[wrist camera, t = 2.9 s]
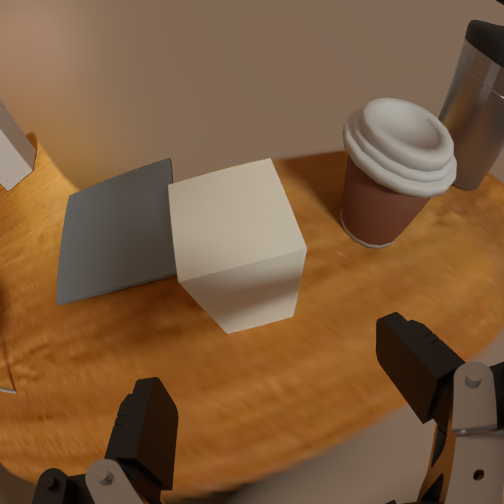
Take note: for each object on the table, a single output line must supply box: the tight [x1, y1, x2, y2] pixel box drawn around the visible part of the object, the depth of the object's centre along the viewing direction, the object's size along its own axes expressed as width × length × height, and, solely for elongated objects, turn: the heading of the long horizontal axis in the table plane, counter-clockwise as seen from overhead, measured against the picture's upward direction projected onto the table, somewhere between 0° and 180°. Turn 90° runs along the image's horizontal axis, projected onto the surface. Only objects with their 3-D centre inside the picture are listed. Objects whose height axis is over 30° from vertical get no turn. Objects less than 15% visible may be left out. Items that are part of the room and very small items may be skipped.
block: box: [168, 158, 307, 334], centre depth 18 cm, size 6×6×12 cm
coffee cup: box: [340, 97, 457, 249], centre depth 20 cm, size 9×9×12 cm
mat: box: [57, 158, 177, 305], centre depth 28 cm, size 15×15×1 cm
